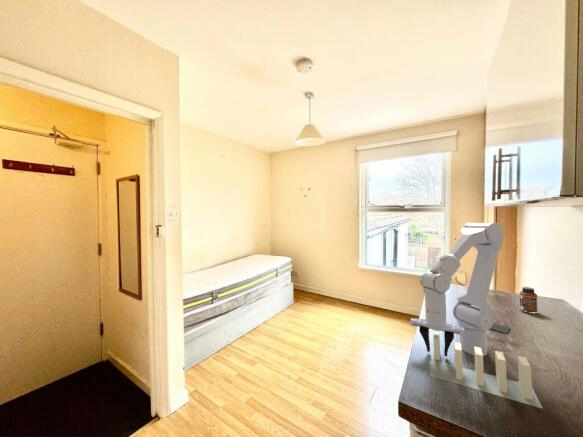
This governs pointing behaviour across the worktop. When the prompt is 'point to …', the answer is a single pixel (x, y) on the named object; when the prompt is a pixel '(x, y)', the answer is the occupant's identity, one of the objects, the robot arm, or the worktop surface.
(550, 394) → the worktop surface
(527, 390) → the domino
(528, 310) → the supplement bottle
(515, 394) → the board
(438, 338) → the head domino
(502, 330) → the smartphone
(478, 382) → the domino
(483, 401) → the worktop surface
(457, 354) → the domino
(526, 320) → the worktop surface
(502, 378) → the domino
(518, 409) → the worktop surface
